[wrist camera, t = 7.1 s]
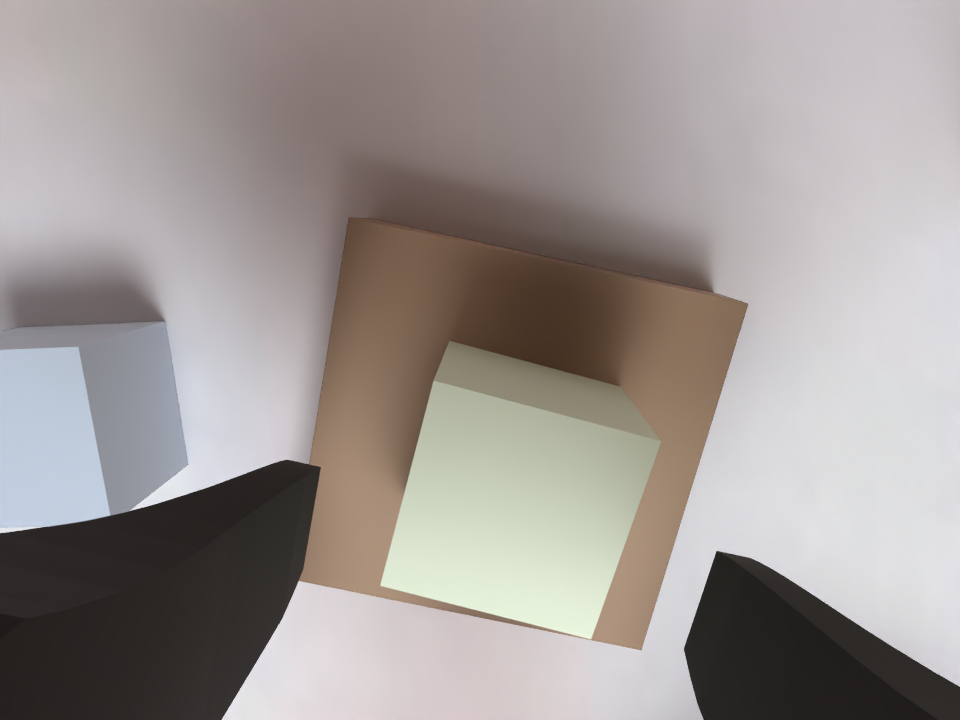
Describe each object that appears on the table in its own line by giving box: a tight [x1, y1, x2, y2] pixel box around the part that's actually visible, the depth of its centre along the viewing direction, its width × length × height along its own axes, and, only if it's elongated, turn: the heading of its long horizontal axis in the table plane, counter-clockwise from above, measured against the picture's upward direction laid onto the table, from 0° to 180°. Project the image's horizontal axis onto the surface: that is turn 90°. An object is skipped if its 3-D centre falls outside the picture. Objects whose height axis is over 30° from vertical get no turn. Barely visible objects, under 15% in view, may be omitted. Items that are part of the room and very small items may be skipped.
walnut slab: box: [299, 218, 748, 650], centre depth 18 cm, size 10×10×3 cm
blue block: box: [0, 321, 188, 528], centre depth 17 cm, size 4×4×4 cm
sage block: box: [380, 341, 661, 639], centre depth 14 cm, size 4×4×4 cm
